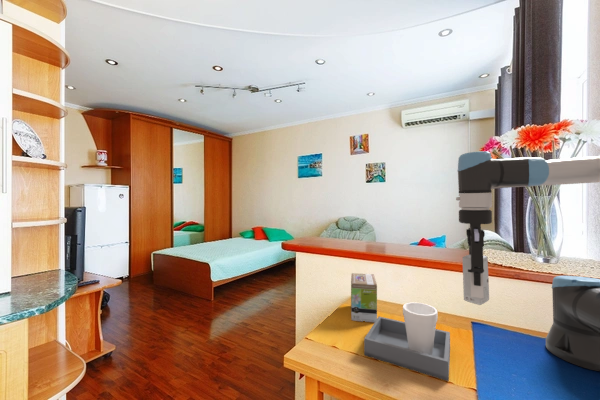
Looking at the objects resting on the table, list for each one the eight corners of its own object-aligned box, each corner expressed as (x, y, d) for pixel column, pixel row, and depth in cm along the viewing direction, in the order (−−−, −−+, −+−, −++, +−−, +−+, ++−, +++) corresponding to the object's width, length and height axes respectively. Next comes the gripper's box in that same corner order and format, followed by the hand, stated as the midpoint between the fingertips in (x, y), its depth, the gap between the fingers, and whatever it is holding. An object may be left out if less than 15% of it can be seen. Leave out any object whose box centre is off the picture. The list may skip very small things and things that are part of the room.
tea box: (378, 323, 97) (377, 284, 97) (351, 321, 99) (350, 283, 99) (374, 306, 111) (374, 273, 111) (351, 305, 113) (350, 272, 113)
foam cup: (406, 340, 83) (405, 300, 83) (438, 348, 78) (437, 305, 78) (401, 355, 75) (400, 311, 75) (437, 365, 70) (436, 318, 70)
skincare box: (481, 306, 66) (480, 259, 66) (462, 300, 70) (461, 256, 70) (490, 299, 70) (489, 256, 70) (471, 294, 74) (471, 253, 73)
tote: (450, 348, 80) (449, 332, 80) (448, 381, 65) (448, 361, 65) (379, 330, 91) (378, 316, 91) (364, 355, 77) (364, 338, 77)
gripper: (458, 207, 80) (459, 280, 80) (458, 210, 63) (460, 302, 63) (487, 207, 76) (489, 284, 76) (496, 210, 60) (498, 308, 59)
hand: (476, 292), depth 70 cm, fingers closed on skincare box, 7 cm apart
